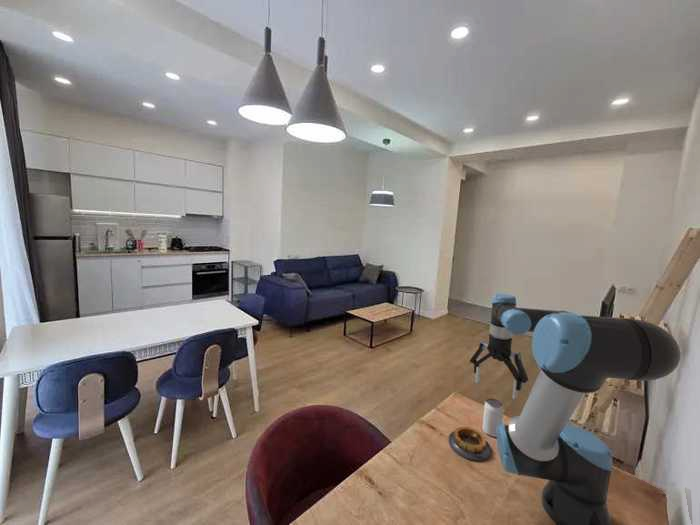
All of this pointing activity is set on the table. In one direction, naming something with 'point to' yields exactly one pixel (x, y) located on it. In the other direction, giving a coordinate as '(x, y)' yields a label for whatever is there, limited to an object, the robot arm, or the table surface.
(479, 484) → the table surface
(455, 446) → the grey and gold ring
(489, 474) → the table surface
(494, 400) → the can
